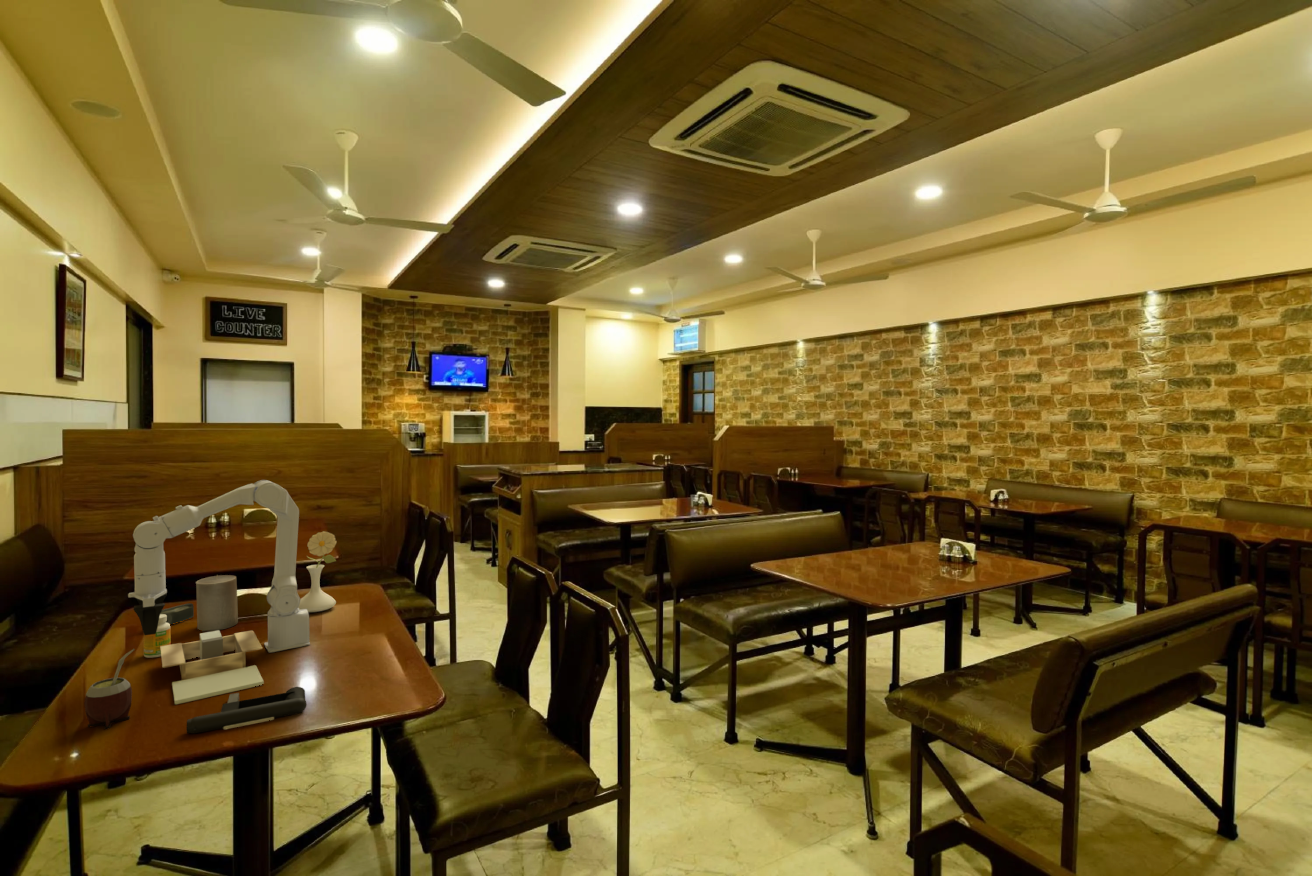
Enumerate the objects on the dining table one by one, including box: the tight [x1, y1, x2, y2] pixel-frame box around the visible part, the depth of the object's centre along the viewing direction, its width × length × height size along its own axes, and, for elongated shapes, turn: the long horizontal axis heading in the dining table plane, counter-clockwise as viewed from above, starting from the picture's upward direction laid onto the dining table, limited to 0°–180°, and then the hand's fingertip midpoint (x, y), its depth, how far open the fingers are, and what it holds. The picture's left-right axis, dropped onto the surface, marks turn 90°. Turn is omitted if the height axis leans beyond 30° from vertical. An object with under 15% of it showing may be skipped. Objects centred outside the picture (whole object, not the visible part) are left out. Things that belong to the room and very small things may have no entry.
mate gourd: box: [84, 648, 136, 730], centre depth 125 cm, size 8×8×15 cm
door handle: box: [185, 686, 307, 734], centre depth 130 cm, size 3×20×16 cm
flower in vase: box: [298, 531, 337, 613], centre depth 198 cm, size 13×11×25 cm
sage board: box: [171, 664, 265, 705], centre depth 143 cm, size 16×12×1 cm
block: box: [199, 630, 224, 660], centre depth 154 cm, size 4×8×7 cm, turn 40°
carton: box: [160, 630, 263, 680], centre depth 154 cm, size 19×16×4 cm
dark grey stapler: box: [160, 602, 195, 624], centre depth 184 cm, size 5×3×15 cm
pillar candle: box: [195, 574, 239, 632], centre depth 183 cm, size 10×10×15 cm
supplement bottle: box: [143, 614, 172, 659], centre depth 161 cm, size 5×5×10 cm
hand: (151, 629), depth 150 cm, fingers open, 7 cm apart
